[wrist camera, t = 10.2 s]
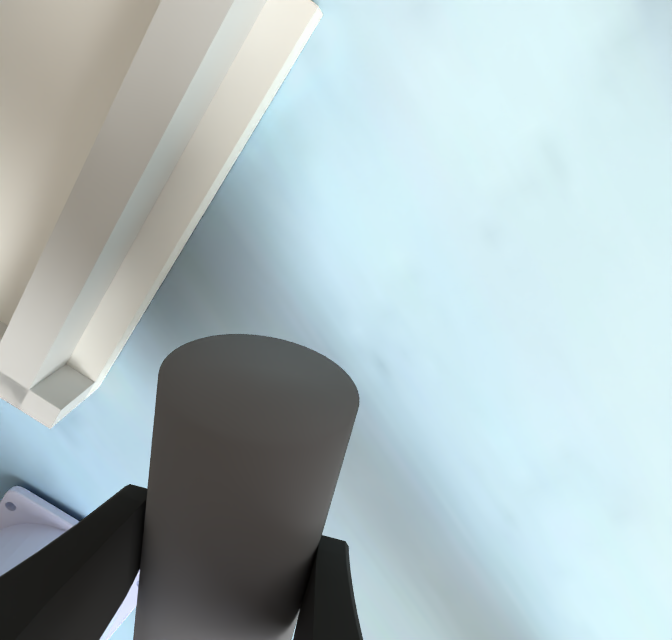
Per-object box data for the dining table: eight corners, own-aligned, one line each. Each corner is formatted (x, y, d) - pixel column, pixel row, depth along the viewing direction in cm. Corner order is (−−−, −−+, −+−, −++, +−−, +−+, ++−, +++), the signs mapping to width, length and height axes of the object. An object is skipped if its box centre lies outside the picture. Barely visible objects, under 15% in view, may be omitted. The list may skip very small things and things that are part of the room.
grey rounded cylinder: (299, 621, 14) (246, 778, 11) (182, 572, 15) (93, 708, 11) (373, 368, 11) (332, 474, 7) (219, 318, 12) (110, 394, 8)
